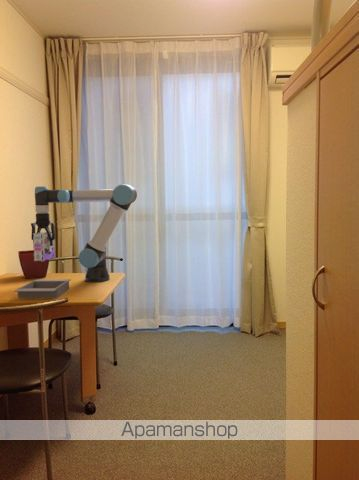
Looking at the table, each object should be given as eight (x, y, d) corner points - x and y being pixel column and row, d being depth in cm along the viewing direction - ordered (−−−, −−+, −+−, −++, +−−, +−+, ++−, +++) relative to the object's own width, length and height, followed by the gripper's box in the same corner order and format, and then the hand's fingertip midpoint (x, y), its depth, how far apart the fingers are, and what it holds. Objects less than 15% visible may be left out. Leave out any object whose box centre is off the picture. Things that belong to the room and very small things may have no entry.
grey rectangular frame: (71, 287, 215) (70, 279, 215) (54, 300, 188) (53, 290, 188) (36, 287, 216) (35, 279, 215) (14, 300, 189) (13, 290, 188)
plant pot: (19, 275, 255) (18, 250, 254) (48, 272, 263) (47, 249, 261) (19, 280, 238) (18, 254, 236) (51, 277, 246) (50, 252, 244)
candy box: (42, 261, 216) (41, 233, 215) (33, 261, 217) (32, 233, 216) (55, 258, 230) (54, 231, 228) (46, 257, 231) (45, 231, 229)
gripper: (60, 212, 224) (62, 250, 227) (28, 212, 225) (30, 250, 227) (56, 212, 217) (58, 252, 219) (23, 213, 217) (25, 252, 220)
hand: (44, 251), depth 223 cm, fingers closed on candy box, 6 cm apart
